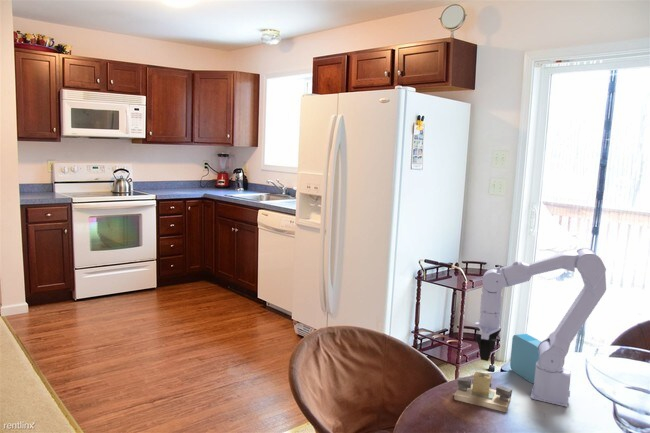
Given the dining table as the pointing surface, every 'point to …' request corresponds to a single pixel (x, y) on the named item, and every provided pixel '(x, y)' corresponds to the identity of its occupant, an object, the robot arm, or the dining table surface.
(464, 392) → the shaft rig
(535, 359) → the light blue flat block
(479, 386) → the coupler
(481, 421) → the dining table surface
